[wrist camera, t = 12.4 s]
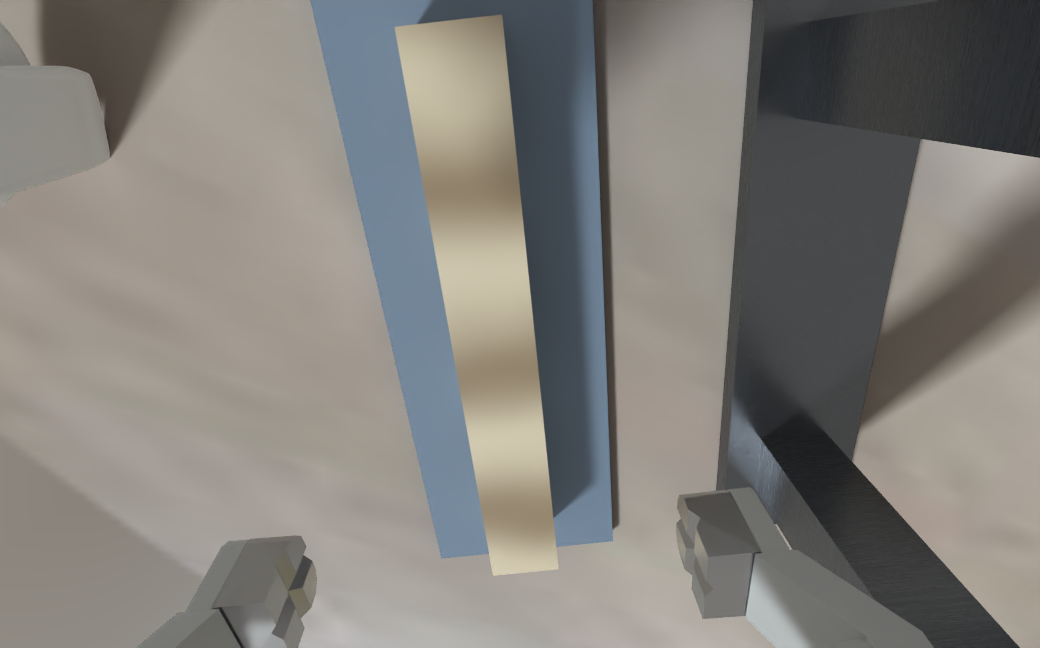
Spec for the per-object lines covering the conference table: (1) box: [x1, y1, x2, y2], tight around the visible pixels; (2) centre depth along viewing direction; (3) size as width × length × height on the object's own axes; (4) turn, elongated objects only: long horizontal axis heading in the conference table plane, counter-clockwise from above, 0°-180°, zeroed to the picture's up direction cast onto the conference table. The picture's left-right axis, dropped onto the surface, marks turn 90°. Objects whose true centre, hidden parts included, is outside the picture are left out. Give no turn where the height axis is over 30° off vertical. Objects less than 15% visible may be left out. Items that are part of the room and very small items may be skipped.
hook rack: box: [716, 0, 1040, 648], centre depth 16 cm, size 25×6×15 cm, turn 6°
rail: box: [395, 14, 558, 576], centre depth 21 cm, size 22×3×3 cm, turn 6°
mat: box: [310, 0, 613, 558], centre depth 22 cm, size 26×9×1 cm, turn 6°
